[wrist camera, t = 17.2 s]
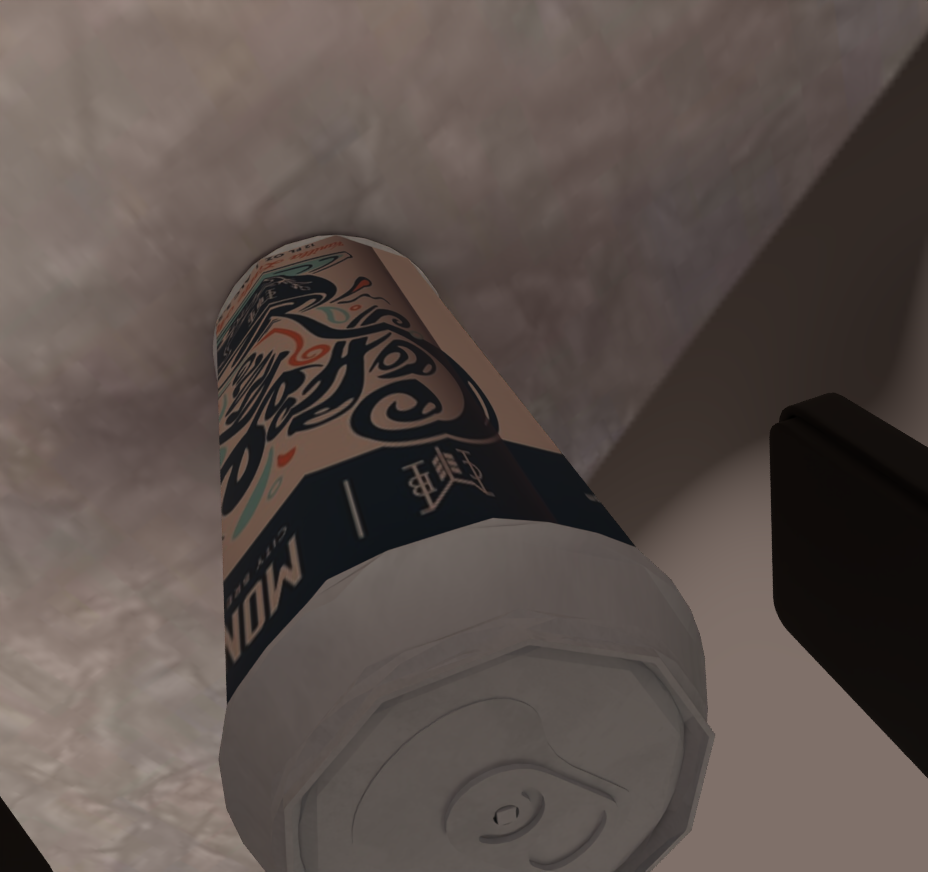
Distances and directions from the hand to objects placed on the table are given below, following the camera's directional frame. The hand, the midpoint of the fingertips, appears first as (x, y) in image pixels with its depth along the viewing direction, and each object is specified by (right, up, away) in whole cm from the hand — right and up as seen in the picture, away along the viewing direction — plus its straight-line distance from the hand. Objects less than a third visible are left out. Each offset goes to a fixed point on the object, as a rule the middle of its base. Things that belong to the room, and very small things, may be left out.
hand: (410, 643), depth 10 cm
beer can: (-2, +4, +8) cm, 10 cm away
